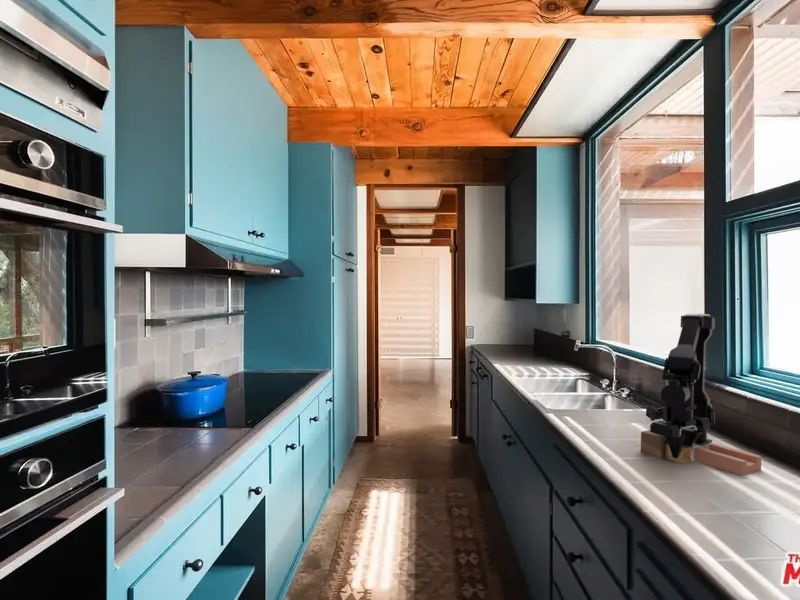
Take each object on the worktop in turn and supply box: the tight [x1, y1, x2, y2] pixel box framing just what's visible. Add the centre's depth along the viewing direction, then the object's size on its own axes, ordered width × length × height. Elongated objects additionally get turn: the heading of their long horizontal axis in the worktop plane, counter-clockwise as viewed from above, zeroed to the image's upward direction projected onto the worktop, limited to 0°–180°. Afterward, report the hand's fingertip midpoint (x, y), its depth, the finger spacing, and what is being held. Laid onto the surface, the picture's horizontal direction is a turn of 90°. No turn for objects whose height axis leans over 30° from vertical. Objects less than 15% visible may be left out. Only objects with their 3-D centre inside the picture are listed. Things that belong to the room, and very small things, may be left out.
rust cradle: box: [693, 442, 762, 476], centre depth 128 cm, size 9×12×4 cm
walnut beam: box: [640, 429, 666, 460], centre depth 138 cm, size 13×6×6 cm, turn 119°
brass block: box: [662, 440, 692, 464], centre depth 135 cm, size 12×4×4 cm, turn 29°
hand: (679, 456), depth 131 cm, fingers closed on brass block, 4 cm apart
